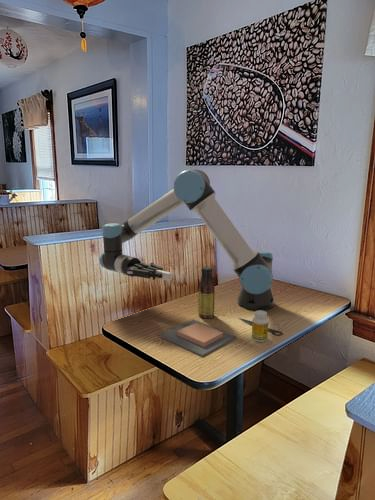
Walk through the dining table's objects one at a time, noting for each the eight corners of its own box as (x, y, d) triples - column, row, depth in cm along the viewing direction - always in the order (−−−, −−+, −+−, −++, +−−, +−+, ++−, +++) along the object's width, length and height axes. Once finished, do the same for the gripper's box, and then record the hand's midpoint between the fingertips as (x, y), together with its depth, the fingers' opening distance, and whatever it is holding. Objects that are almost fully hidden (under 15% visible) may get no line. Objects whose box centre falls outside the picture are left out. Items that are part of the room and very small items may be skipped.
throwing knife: (278, 337, 127) (278, 336, 127) (233, 320, 141) (233, 318, 141) (285, 334, 130) (285, 332, 130) (240, 317, 144) (240, 315, 144)
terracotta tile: (177, 331, 125) (203, 342, 117) (196, 322, 132) (223, 332, 124) (177, 335, 126) (203, 347, 118) (196, 326, 133) (222, 337, 125)
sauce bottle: (203, 311, 148) (205, 264, 144) (217, 315, 145) (218, 266, 140) (194, 316, 143) (195, 267, 138) (208, 320, 139) (209, 270, 135)
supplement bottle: (254, 333, 129) (255, 308, 127) (269, 337, 127) (271, 311, 124) (249, 340, 124) (250, 313, 122) (264, 343, 122) (266, 316, 120)
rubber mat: (158, 336, 126) (158, 334, 126) (193, 320, 139) (193, 319, 139) (202, 356, 113) (202, 355, 113) (236, 337, 126) (236, 336, 126)
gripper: (141, 271, 151) (182, 283, 136) (115, 278, 142) (156, 291, 126) (140, 253, 150) (182, 263, 134) (114, 259, 140) (156, 270, 125)
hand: (170, 277), depth 130 cm, fingers closed
